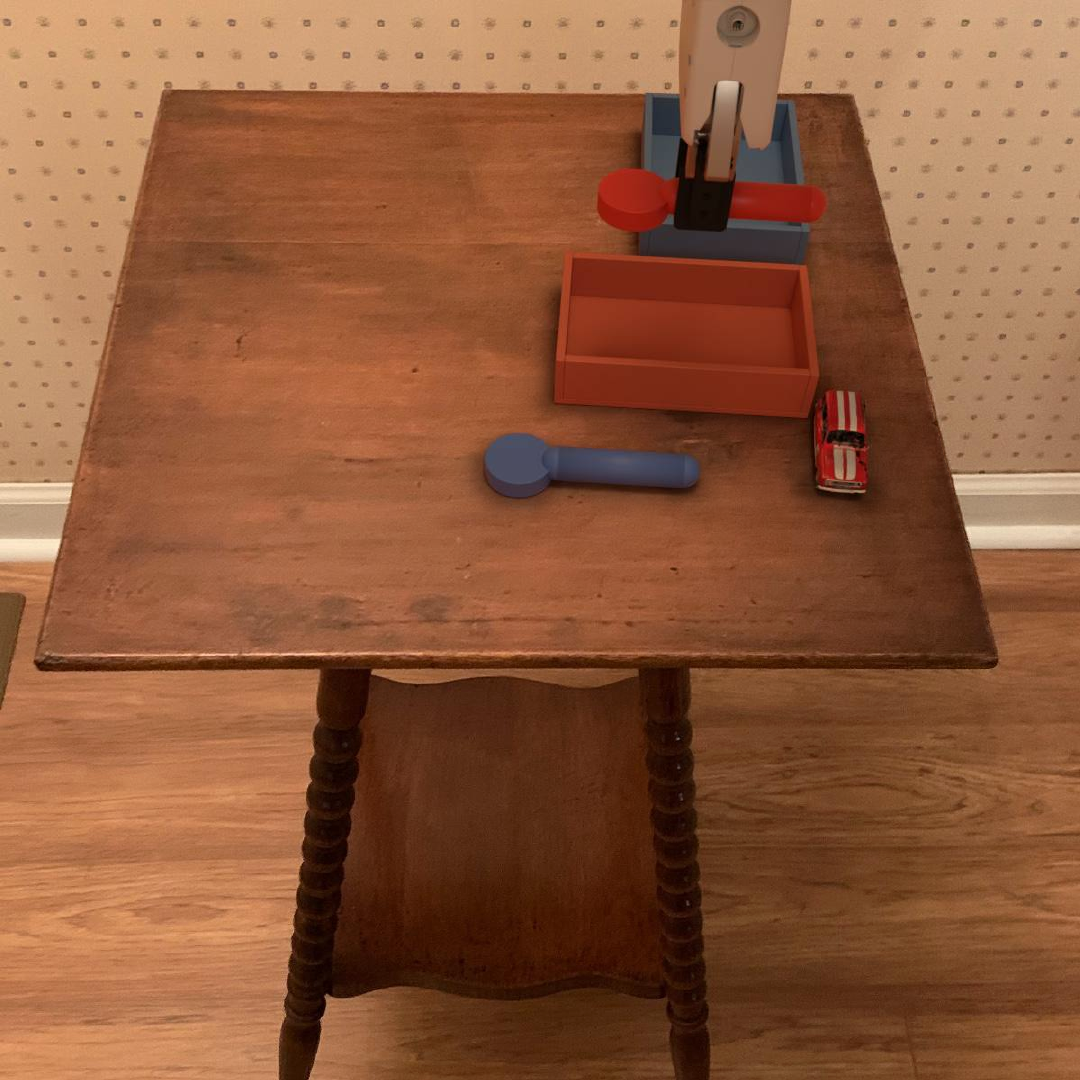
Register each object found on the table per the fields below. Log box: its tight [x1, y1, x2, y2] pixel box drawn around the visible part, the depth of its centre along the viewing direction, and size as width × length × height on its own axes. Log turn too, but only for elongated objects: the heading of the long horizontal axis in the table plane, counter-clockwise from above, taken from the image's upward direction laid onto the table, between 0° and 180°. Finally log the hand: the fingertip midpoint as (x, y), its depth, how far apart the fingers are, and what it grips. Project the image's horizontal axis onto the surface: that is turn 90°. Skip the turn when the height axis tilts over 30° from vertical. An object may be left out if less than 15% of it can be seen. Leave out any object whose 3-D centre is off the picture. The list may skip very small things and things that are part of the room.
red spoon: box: [596, 168, 828, 233], centre depth 72 cm, size 14×4×2 cm, turn 86°
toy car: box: [812, 389, 873, 495], centre depth 77 cm, size 4×8×3 cm, turn 173°
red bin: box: [553, 251, 820, 419], centre depth 83 cm, size 17×11×4 cm, turn 86°
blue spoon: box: [484, 432, 701, 499], centre depth 76 cm, size 14×4×2 cm, turn 86°
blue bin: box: [638, 92, 811, 265], centre depth 94 cm, size 12×17×4 cm
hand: (699, 210), depth 73 cm, fingers closed on red spoon, 2 cm apart
